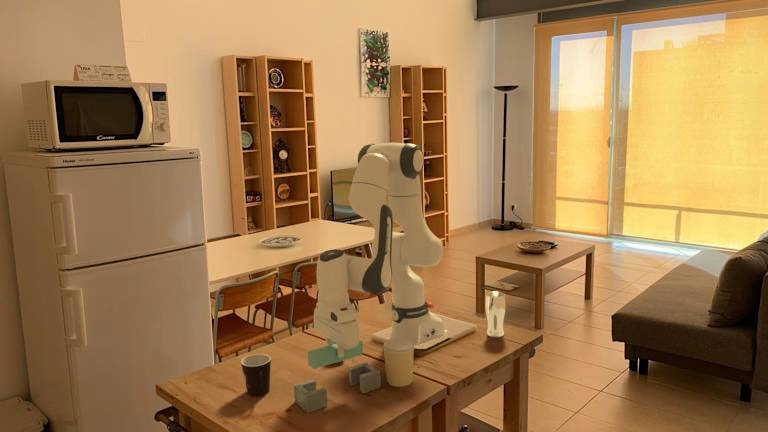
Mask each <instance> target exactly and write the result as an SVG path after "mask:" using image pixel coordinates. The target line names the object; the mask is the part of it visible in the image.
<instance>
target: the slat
mask: <svg viewBox="0 0 768 432" xmlns="http://www.w3.org/2000/svg"><path fill="white" fill-rule="evenodd" d="M336 350H338V346H337V343H336V344H333V345H329V346H328V345H327V346H323V347H319V348H315V349H311V350H308V351H307V363H308V366H310V367H311V368H312V369H318V368H322V367H325V366H329V365H331V364H337V363H336V362H339V361H342V362H344V361H345V360H349V359H353V358H356V357H359V356H362V355H363V354H364V353H363V351H364V348H363V341H362V340H361V339H359V343H358V346H357V347H356V348H353V349H349V350H347V349H345V350H344V356H343V357H341V358H339V357H337V356H336ZM339 363H340V362H339Z"/></svg>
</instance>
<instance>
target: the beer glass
mask: <svg viewBox="0 0 768 432" xmlns="http://www.w3.org/2000/svg"><path fill="white" fill-rule="evenodd" d="M485 313H486V315H485V316H486V319H487V330H486V335H487V336H489V337H491V338H501V337H503V336H504V335H505V333H504V320H505V315H506V293H504V292H503V291H502V292H501V291H489V292H486V295H485Z"/></svg>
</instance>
